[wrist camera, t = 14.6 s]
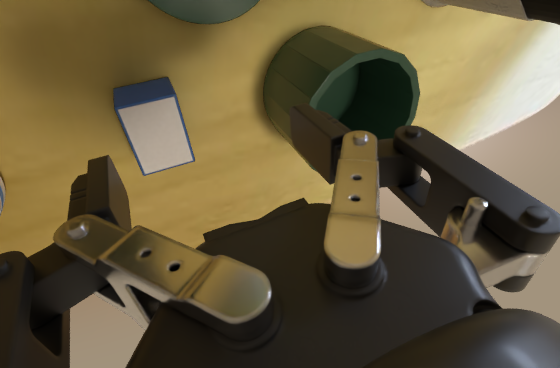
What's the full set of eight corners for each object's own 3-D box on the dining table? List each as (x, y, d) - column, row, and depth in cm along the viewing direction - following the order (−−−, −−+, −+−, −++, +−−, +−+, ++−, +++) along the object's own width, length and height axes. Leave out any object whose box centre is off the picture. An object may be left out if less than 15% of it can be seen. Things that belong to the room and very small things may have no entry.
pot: (256, 38, 28) (299, 67, 22) (367, 16, 31) (432, 36, 25) (269, 148, 35) (303, 193, 29) (357, 122, 38) (406, 158, 32)
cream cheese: (112, 88, 26) (113, 108, 23) (168, 76, 27) (176, 93, 24) (139, 152, 30) (143, 177, 27) (187, 140, 31) (195, 161, 28)
